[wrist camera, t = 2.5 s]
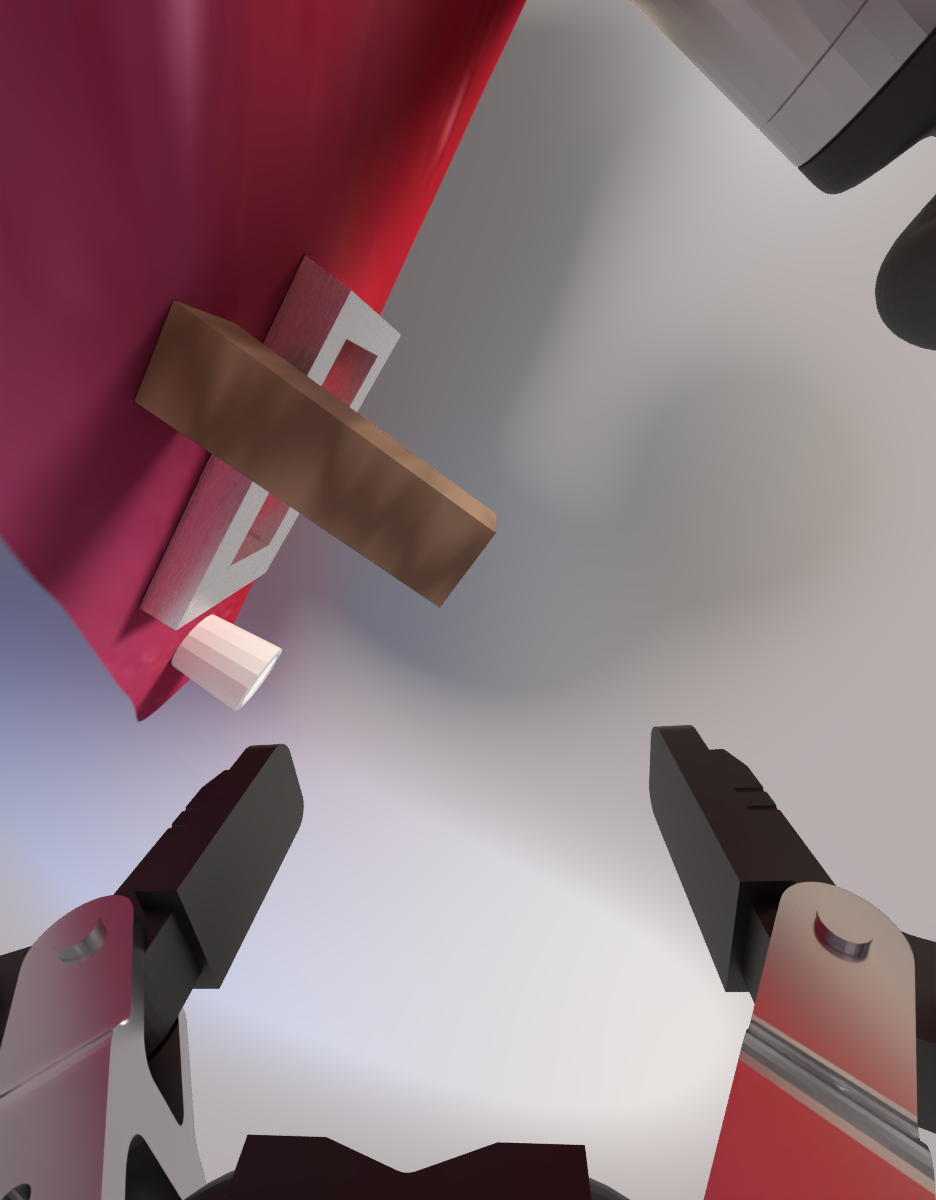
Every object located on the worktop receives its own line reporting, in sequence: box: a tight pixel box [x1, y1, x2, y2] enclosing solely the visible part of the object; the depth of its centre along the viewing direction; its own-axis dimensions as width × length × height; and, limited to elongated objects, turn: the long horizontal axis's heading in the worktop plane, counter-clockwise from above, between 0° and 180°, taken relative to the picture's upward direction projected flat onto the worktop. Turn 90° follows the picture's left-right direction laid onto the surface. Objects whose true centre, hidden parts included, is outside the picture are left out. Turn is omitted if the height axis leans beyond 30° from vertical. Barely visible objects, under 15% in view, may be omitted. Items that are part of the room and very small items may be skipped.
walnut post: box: [134, 300, 496, 607], centre depth 20 cm, size 4×4×14 cm
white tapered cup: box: [171, 615, 282, 711], centre depth 44 cm, size 7×7×7 cm
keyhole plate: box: [139, 255, 401, 630], centre depth 31 cm, size 22×12×2 cm, turn 93°
